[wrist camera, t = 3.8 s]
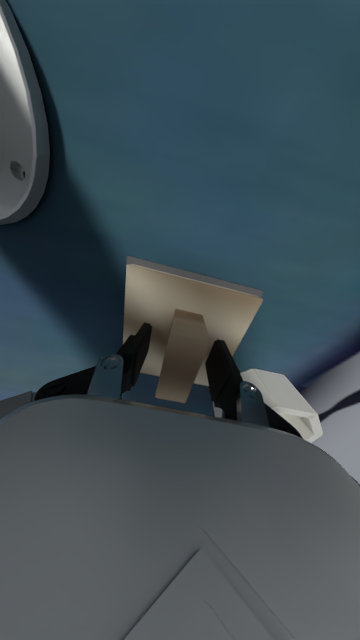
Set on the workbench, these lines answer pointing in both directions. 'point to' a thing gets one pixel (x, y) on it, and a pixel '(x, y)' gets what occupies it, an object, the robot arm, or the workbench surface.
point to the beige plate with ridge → (183, 325)
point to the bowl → (283, 402)
